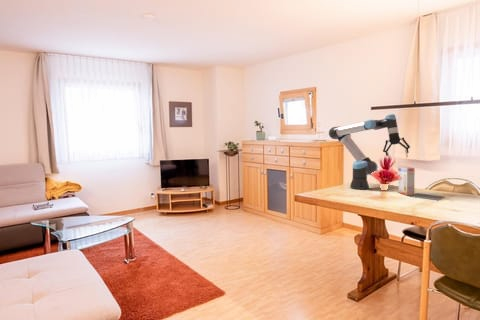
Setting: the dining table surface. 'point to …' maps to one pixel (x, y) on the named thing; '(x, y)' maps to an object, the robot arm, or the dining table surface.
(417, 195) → the felt mat
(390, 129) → the robot arm
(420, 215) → the dining table surface
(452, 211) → the dining table surface
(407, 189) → the cracker box
